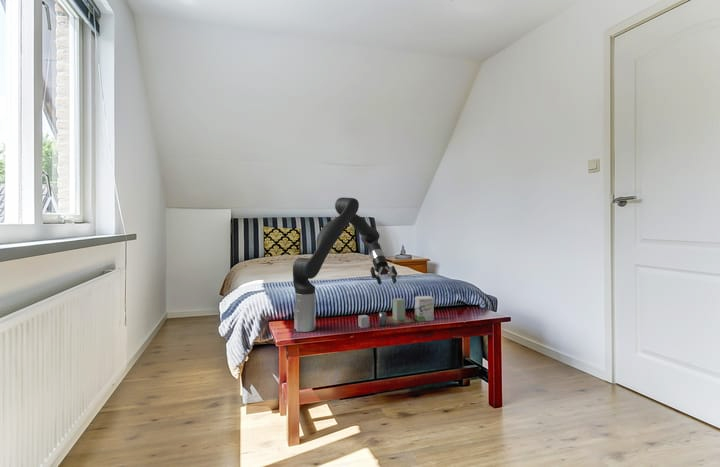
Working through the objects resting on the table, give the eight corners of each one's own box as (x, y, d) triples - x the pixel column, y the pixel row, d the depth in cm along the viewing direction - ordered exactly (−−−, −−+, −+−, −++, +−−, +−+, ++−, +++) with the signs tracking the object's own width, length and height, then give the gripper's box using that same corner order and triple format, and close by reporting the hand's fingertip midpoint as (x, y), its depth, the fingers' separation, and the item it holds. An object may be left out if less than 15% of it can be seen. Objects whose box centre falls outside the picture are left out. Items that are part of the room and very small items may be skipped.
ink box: (418, 321, 196) (418, 298, 195) (414, 319, 200) (414, 296, 200) (434, 320, 198) (434, 297, 197) (429, 318, 203) (429, 295, 202)
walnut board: (393, 325, 189) (393, 323, 189) (382, 319, 200) (382, 317, 200) (415, 322, 194) (415, 320, 194) (403, 316, 205) (403, 314, 205)
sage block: (396, 320, 194) (397, 300, 193) (392, 318, 198) (392, 298, 198) (405, 319, 196) (405, 299, 195) (400, 317, 200) (400, 298, 199)
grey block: (361, 328, 185) (361, 317, 185) (358, 325, 188) (358, 315, 188) (369, 327, 186) (369, 316, 186) (365, 325, 190) (365, 314, 190)
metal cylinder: (378, 325, 188) (378, 313, 188) (379, 324, 191) (379, 312, 191) (385, 326, 187) (385, 313, 187) (386, 324, 190) (386, 312, 190)
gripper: (369, 255, 212) (377, 279, 202) (392, 254, 218) (402, 278, 208) (365, 264, 217) (373, 288, 207) (388, 262, 223) (397, 286, 213)
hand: (387, 283), depth 208 cm, fingers open, 8 cm apart
